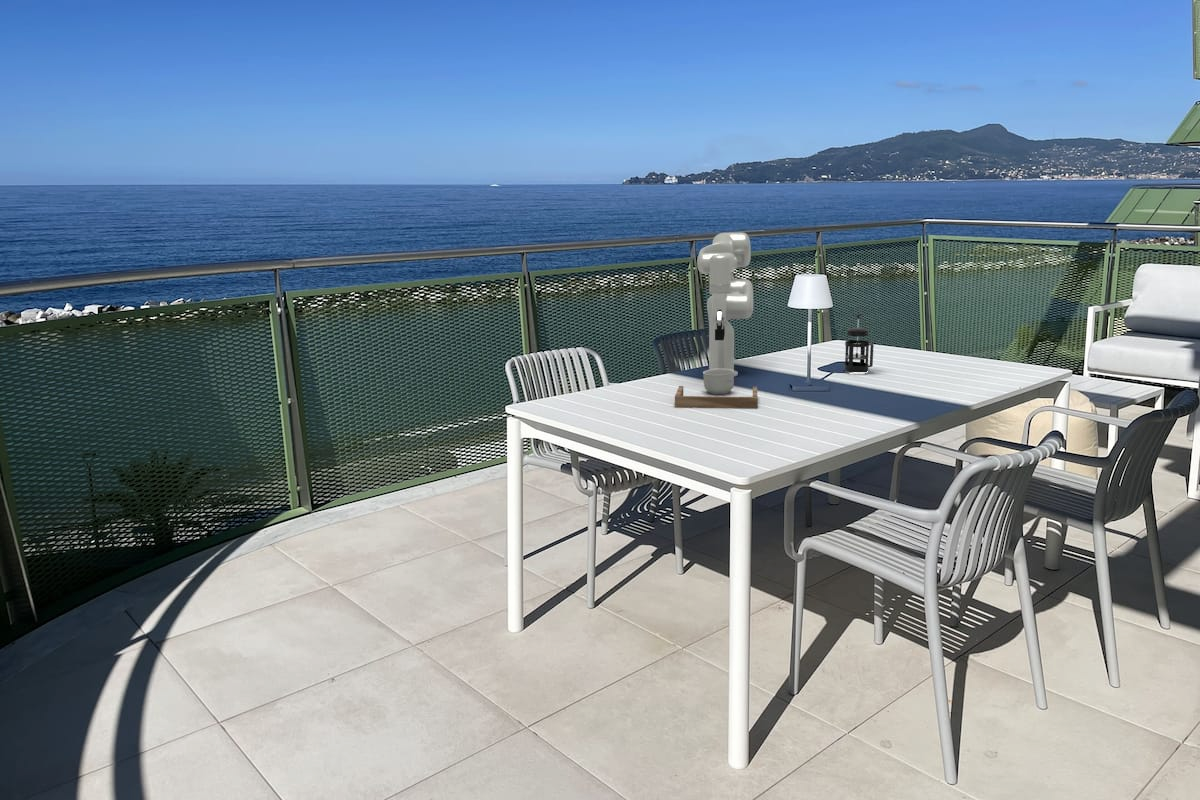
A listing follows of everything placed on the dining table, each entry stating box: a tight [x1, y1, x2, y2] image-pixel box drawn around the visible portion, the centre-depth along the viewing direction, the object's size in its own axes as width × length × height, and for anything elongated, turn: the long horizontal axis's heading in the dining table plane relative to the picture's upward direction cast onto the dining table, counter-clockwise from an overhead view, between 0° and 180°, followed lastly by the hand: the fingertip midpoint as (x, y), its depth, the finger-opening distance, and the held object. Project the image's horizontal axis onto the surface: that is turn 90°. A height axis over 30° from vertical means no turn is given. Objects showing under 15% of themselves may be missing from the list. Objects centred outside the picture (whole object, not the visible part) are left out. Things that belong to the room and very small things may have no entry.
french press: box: [843, 312, 874, 372], centre depth 331 cm, size 12×9×23 cm
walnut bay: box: [674, 385, 759, 409], centre depth 292 cm, size 18×27×4 cm, turn 80°
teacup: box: [702, 368, 735, 395], centre depth 306 cm, size 14×11×8 cm
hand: (719, 338), depth 313 cm, fingers open, 6 cm apart
